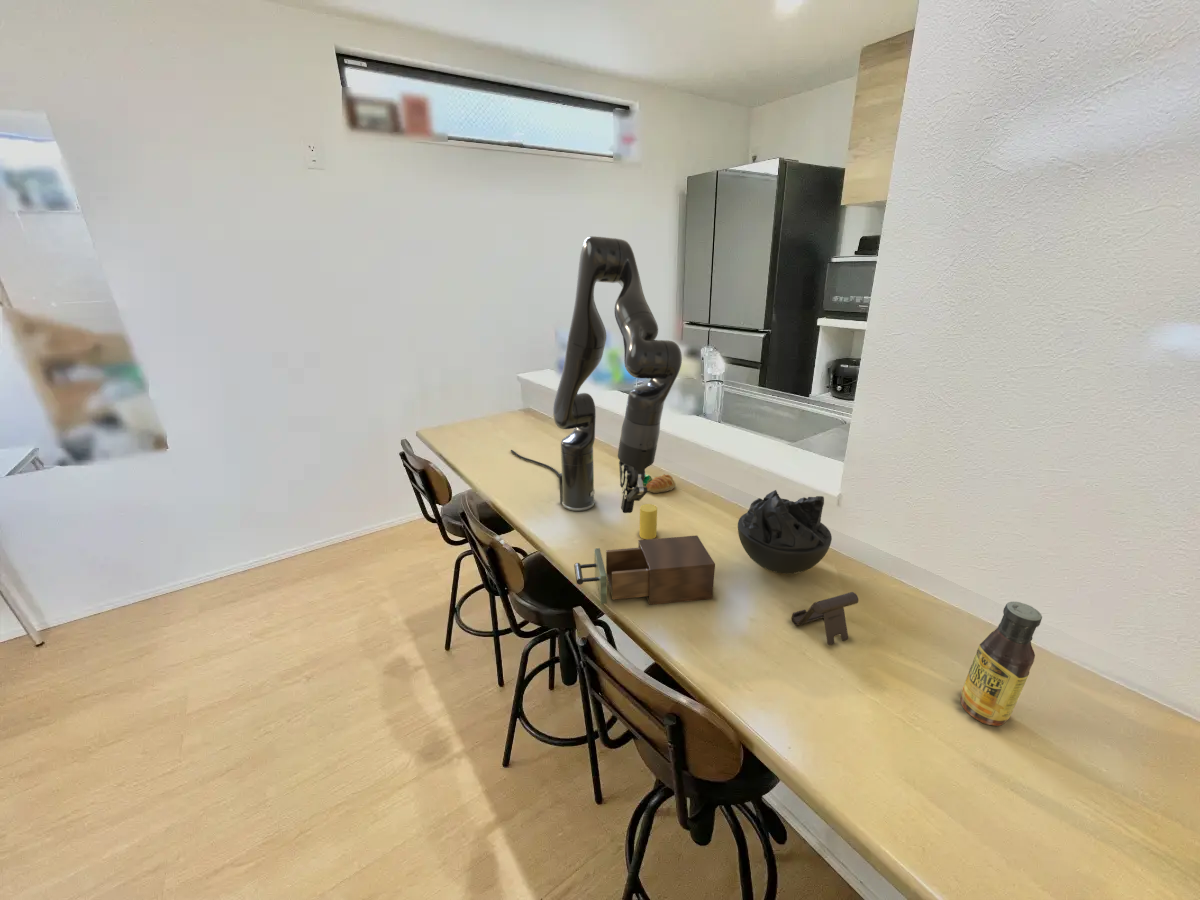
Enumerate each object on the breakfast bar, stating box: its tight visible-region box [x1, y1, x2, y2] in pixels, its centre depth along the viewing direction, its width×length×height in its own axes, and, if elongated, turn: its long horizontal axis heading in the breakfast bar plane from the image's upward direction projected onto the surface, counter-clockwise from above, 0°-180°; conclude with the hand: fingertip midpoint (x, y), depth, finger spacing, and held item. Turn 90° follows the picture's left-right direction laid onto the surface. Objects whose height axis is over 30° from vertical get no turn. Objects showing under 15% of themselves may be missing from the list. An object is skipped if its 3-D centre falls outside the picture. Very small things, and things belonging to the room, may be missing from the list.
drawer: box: [573, 547, 649, 605], centre depth 105 cm, size 17×10×7 cm, turn 98°
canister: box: [639, 503, 658, 540], centre depth 127 cm, size 4×4×8 cm
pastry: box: [645, 473, 676, 494], centre depth 154 cm, size 9×7×4 cm
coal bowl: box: [737, 489, 833, 575], centre depth 111 cm, size 20×20×19 cm
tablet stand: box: [790, 591, 859, 646], centre depth 93 cm, size 9×8×8 cm
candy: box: [642, 473, 653, 487], centre depth 162 cm, size 12×3×4 cm
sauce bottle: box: [960, 601, 1043, 727], centre depth 73 cm, size 7×6×20 cm
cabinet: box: [637, 535, 716, 606], centre depth 107 cm, size 14×12×9 cm
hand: (626, 511), depth 106 cm, fingers closed
